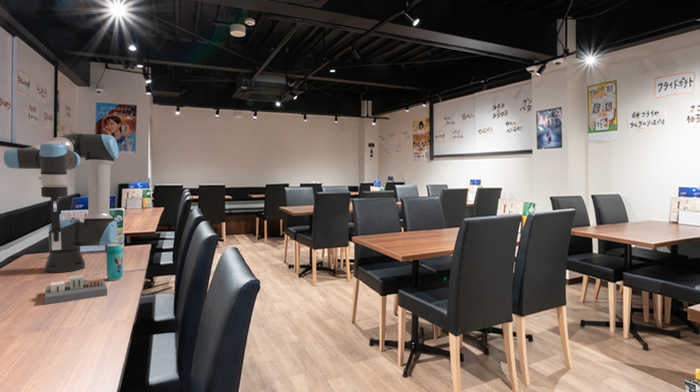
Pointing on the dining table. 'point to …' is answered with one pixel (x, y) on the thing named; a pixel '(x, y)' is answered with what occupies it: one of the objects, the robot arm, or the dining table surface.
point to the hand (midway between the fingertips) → (56, 249)
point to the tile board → (75, 293)
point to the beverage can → (114, 262)
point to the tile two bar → (76, 282)
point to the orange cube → (94, 282)
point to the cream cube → (58, 286)
